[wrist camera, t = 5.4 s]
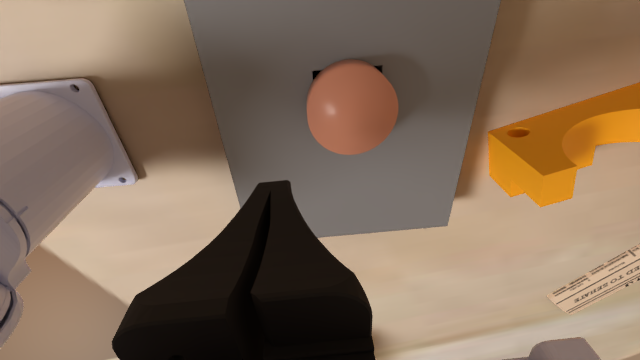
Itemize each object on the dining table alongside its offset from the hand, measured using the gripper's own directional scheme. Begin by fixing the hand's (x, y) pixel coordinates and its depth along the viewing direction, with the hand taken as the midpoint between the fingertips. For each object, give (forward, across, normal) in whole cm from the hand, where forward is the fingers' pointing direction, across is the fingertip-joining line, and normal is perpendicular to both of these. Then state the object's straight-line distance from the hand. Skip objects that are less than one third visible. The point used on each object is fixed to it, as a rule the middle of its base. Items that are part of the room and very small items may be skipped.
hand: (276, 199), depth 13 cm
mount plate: (+10, -4, -2) cm, 11 cm away
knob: (+10, -4, -2) cm, 11 cm away
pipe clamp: (+10, -22, +3) cm, 24 cm away
